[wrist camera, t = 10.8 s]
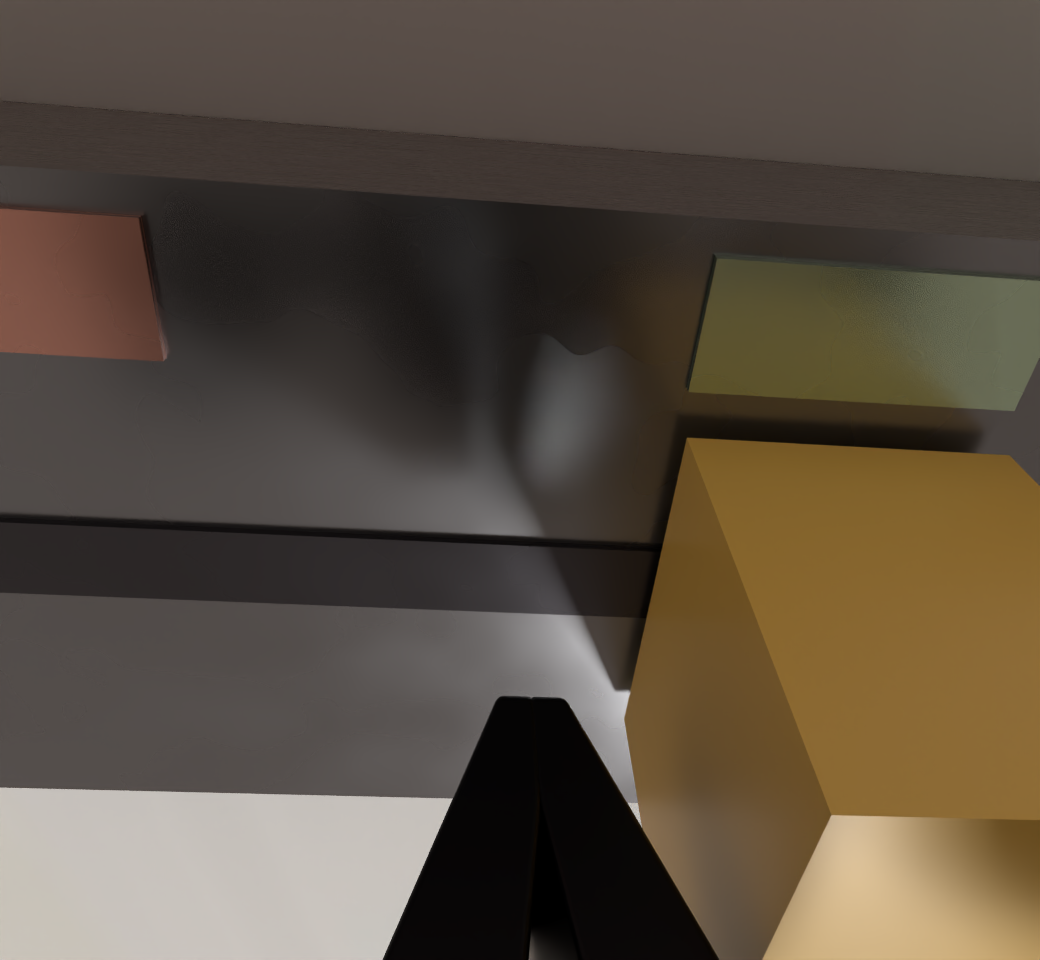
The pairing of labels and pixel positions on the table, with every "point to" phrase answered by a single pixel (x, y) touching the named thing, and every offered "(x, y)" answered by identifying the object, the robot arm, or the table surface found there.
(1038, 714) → the handle
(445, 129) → the table surface
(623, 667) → the power box
